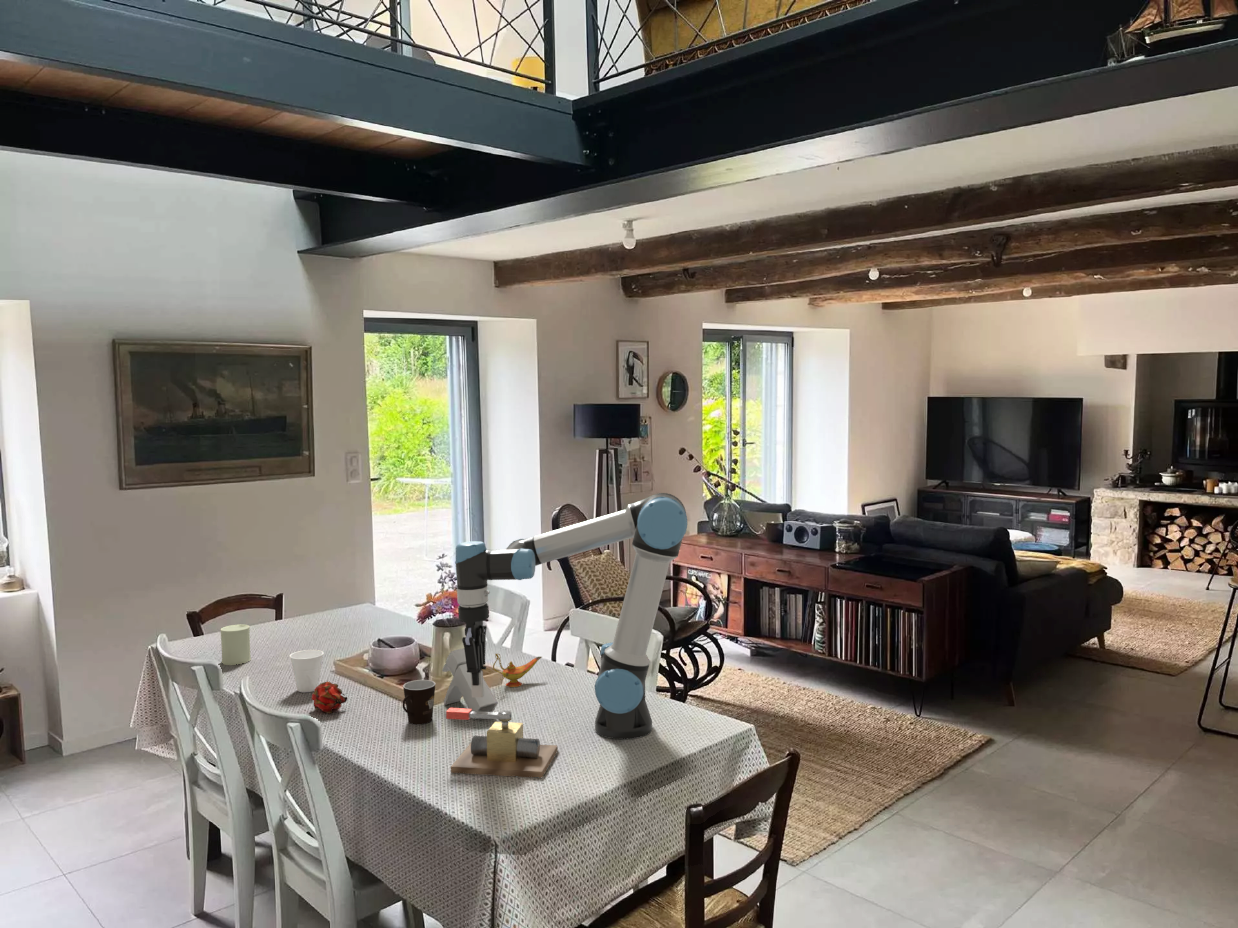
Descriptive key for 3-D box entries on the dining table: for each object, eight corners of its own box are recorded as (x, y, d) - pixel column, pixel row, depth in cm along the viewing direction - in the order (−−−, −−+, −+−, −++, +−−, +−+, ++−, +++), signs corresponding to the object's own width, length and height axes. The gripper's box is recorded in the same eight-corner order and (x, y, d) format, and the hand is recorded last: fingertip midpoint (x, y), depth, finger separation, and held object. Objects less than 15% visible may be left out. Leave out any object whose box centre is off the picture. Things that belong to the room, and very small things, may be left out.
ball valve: (541, 751, 223) (540, 716, 222) (534, 763, 216) (533, 726, 215) (478, 748, 225) (477, 713, 224) (469, 759, 218) (468, 723, 218)
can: (257, 659, 309) (255, 625, 308) (232, 666, 301) (231, 631, 300) (240, 655, 314) (238, 621, 313) (215, 662, 306) (214, 627, 305)
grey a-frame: (479, 706, 246) (448, 648, 257) (460, 741, 255) (432, 684, 266) (499, 701, 250) (468, 644, 261) (479, 735, 259) (450, 679, 270)
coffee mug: (425, 712, 255) (424, 677, 255) (442, 720, 249) (441, 684, 248) (388, 723, 247) (387, 687, 246) (405, 731, 241) (404, 694, 240)
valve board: (557, 751, 227) (557, 745, 227) (542, 777, 211) (541, 771, 211) (472, 746, 230) (472, 740, 230) (450, 772, 214) (450, 766, 214)
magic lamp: (548, 679, 284) (548, 645, 283) (499, 692, 272) (498, 656, 271) (536, 674, 289) (535, 640, 288) (487, 686, 278) (486, 651, 277)
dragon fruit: (320, 708, 264) (340, 725, 256) (298, 698, 258) (317, 714, 250) (337, 682, 266) (357, 698, 258) (315, 671, 261) (335, 687, 252)
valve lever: (513, 717, 221) (513, 710, 221) (509, 722, 218) (509, 714, 218) (450, 714, 224) (450, 707, 224) (445, 719, 221) (445, 711, 220)
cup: (305, 696, 270) (304, 660, 269) (283, 691, 275) (282, 655, 274) (332, 687, 278) (330, 652, 277) (310, 682, 283) (309, 647, 283)
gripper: (480, 609, 220) (484, 705, 222) (495, 597, 233) (499, 688, 235) (450, 610, 221) (455, 704, 223) (466, 598, 234) (471, 687, 236)
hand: (477, 696), depth 229 cm, fingers closed
